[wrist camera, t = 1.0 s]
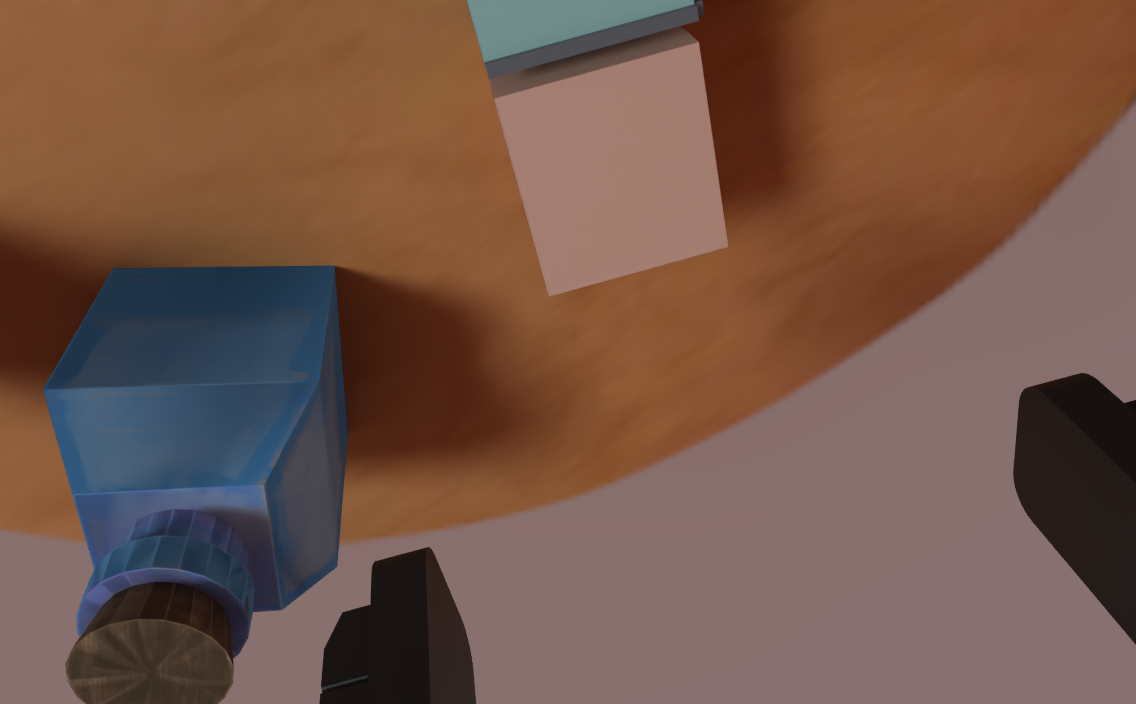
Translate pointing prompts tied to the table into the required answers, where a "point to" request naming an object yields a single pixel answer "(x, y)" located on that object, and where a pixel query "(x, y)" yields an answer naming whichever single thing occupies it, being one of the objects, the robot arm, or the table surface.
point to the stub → (614, 158)
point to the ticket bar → (567, 27)
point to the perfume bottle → (198, 468)
